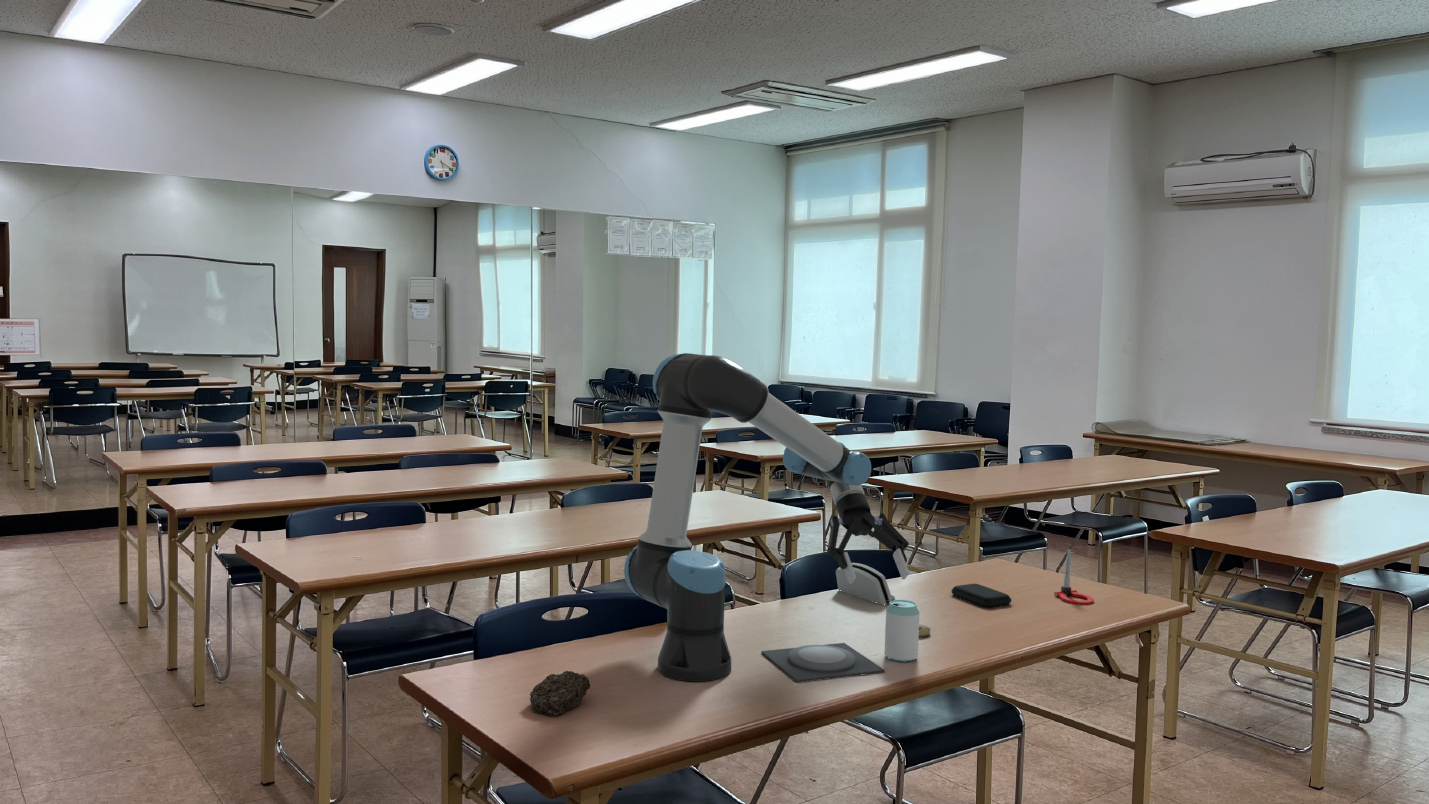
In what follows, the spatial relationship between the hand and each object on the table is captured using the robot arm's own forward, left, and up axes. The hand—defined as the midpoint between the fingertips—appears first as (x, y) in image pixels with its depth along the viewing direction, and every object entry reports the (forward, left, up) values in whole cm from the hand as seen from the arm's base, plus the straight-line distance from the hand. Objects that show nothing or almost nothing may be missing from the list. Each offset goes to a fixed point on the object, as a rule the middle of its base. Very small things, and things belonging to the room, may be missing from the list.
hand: (879, 578), depth 221 cm
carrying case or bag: (+44, +23, -15) cm, 53 cm away
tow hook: (+69, +16, -15) cm, 72 cm away
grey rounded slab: (+15, +34, -15) cm, 40 cm away
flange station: (-18, -9, -15) cm, 25 cm away
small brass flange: (+12, +3, -15) cm, 19 cm away
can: (0, -11, -15) cm, 18 cm away
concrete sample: (-76, -15, -15) cm, 78 cm away
